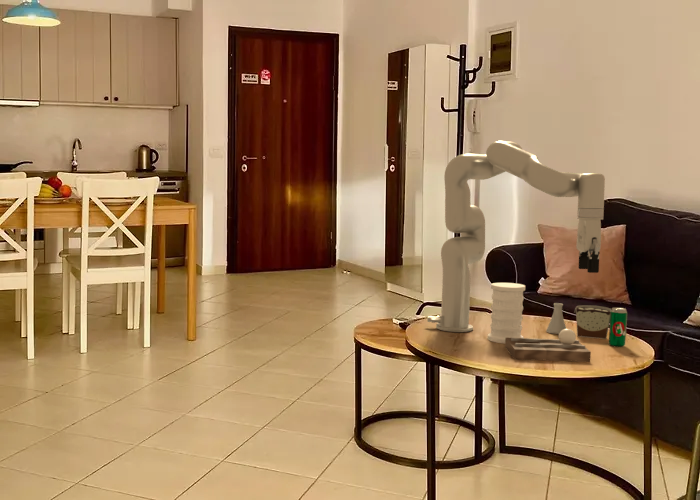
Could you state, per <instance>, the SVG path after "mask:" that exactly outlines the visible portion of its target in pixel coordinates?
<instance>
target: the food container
mask: <svg viewBox="0 0 700 500" xmlns="http://www.w3.org/2000/svg"><path fill="white" fill-rule="evenodd" d="M611 310H612V308H609V307H606V306H600V305H590V304H589V305H577V306H575V308H574V312H573V314H575V315H576V317H575V318H576V319H575V320H576V338H577V337H578V338H579V337H581V338H588V339H589V338H590V339H591V338H592V339H599V338H600V339H601V340H607V337H608V334H609V332H608V331H609V328H610V313H611ZM600 339H599V340H600Z"/></svg>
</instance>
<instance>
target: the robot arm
mask: <svg viewBox="0 0 700 500" xmlns="http://www.w3.org/2000/svg"><path fill="white" fill-rule="evenodd" d="M445 167H446V168H445V170H444V178H443V179H444V191H445V193H444V195H445V196H444V197H445V200H444V213H445V214H444V223H445V228H446V229H447V230H448V231H449V232H450V233H454V234H460V236H454V237H451V238H449V239H447V240H446V241H444V243H443V245H442V247H441V250H440V257H441V259H440V260H441V264H442V280H441V281H442V282H441V283H442V285H441V286H442V288H441V289H442V290H441V309H440V310H441V313H439V315H437V316H431V315H430V316H429V315H428V316H427V318H426V319H427V322H429V323H430V322H431V323H433V324H434V323H436V325H435V327H436V329H438V330H439V331H440V330H441V331H443V332H449V333H450V332H451V333H468V332H473V330H474V326H473V325H472V324H469V323H470V305H471V304H470V301H471V300H470V299H471V277H472V276H471V270H470V267H469V265H471V264H475V263H478V262H479V261H481V260H482V259H483V258H484V255H485V251H486V219H485V215H484V212H483V211H482V209H481V208H480V207H479V206H477V205H473V204H471V189H470V186H469V184H468V181H470V180H478V181H479V180H481V181H482V180H488V179H491V178H494V177H496V176H498V175H502V174H503V173H505V172H507V173H508V174H510V175H513V176H515V177H517V178H519V179H521V180H523V181H524V182H525V183H526V184H528V185H529V186H531V187H533V188H535V189H536V190H539V191H541V192H543V193H546V194H548V195H550V196H552V197H554V198H555V197H557V198H574V197H577V216H576V217H577V219H578V224H577V230H576V231H577V232H576V246H575V247H576V250H577V251H578V269H579V270H587V271H586V272H587V273H589V274H590V273H591V274H597V273H599V272H600V271H599V270H600V254H601V253H600V251H601V245H602V244H601V242H602V228H601V227H602V223H601V220H602V221H603V220H604V213H605V212H604V210H605V207H604V206H605V189H606V188H605V184H606V183H605V182H606V181H605V179H606V178H605V175H604V174H602V173H598V172H597V173H596V172H594V173H593V172H590V173H589V172H587V173H577V172H567V171H558V170H555V169H553V168H551V167H548V166H546V165H544V164H543V163H541V162H540V161H539V157H538V156H537V155H536V154H534V153H532V152H529V151H527V150H524V149H523V147H521V145H520V144H518V143H516V142H515V141H508V140H507V141H506V140H498V141H497V140H496V141H494V142H492V143H490V144H489V146H488V147H487V148H486V151H485V153H484V154H481V153H480V154H479V153H464V154H463V153H462V154H459V155H456V157H453V158H452V159H451V160H450V161H449V162H448V163H447V165H446V166H445Z"/></svg>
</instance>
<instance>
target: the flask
mask: <svg viewBox="0 0 700 500" xmlns="http://www.w3.org/2000/svg"><path fill="white" fill-rule="evenodd" d="M563 306H564V304H563V303H559V302H554V303H553V307H554V308H553V311H552V316H551V318H550V322H549V323H548V325H547V328H546V331H545V332H546V333H549V334H554V335H555V334H556V335H559V333H560V332H561V331H562V330H563V329H567V326H566V323H565V318H564V316H563Z"/></svg>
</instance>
